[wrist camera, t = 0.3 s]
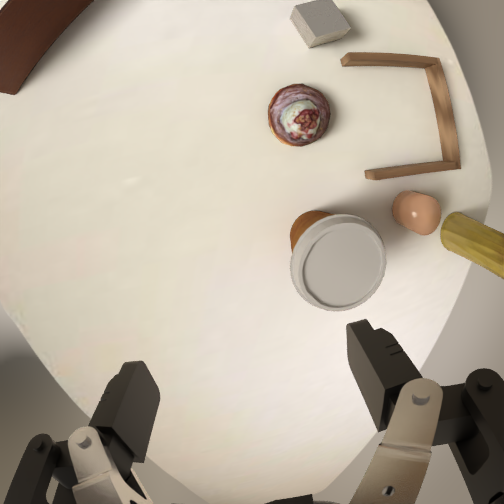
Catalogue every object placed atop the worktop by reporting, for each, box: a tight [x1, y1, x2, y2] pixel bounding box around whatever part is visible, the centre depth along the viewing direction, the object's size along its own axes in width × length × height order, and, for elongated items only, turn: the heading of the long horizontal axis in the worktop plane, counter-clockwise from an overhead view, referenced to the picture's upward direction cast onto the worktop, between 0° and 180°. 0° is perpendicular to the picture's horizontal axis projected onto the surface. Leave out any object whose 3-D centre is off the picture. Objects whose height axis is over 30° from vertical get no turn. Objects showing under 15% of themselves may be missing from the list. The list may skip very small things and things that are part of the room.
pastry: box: [268, 84, 331, 146], centre depth 30 cm, size 8×8×5 cm
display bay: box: [341, 52, 461, 180], centre depth 30 cm, size 16×14×3 cm
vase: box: [441, 212, 504, 279], centre depth 30 cm, size 6×6×14 cm
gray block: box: [290, 0, 351, 48], centre depth 26 cm, size 5×5×4 cm
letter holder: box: [0, 0, 94, 95], centre depth 18 cm, size 10×20×14 cm, turn 133°
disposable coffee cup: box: [290, 211, 386, 311], centre depth 31 cm, size 10×10×12 cm
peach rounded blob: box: [392, 191, 441, 235], centre depth 33 cm, size 5×5×5 cm
